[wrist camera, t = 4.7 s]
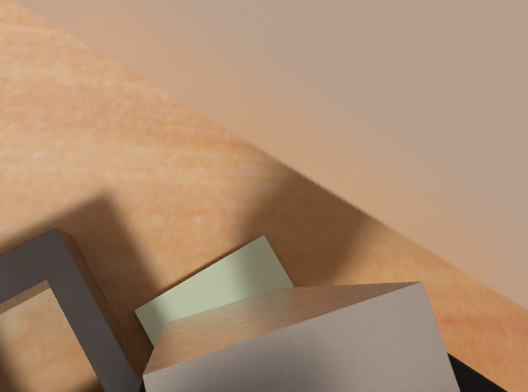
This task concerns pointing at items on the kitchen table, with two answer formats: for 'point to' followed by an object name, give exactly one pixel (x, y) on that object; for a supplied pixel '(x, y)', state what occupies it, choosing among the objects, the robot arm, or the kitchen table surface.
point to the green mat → (217, 286)
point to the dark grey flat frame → (72, 304)
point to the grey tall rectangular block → (307, 344)
